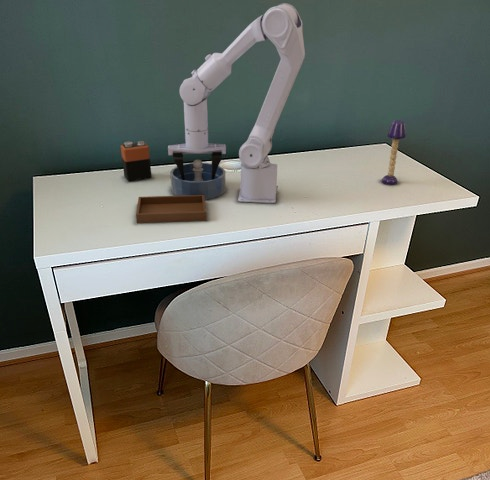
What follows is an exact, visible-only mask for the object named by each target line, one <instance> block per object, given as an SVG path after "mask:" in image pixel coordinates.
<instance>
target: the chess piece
mask: <svg viewBox="0 0 490 480" xmlns="http://www.w3.org/2000/svg"><path fill="white" fill-rule="evenodd" d="M192 163H193V166H194V168H193V171H194V173H195V178H194V181H196V182H200V181H203V179H202V171H203V168H201V167H202V165H203V163H204V162H203V161H202V160H201V159H195V160H193V162H192Z"/></svg>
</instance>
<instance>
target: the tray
mask: <svg viewBox="0 0 490 480" xmlns="http://www.w3.org/2000/svg"><path fill="white" fill-rule="evenodd" d="M207 217H208V216H207V205H206V199H205V196H204V195H183V196H176V195H155V196H154V195H153V196H138V199H137V205H136V212H135V219H136V223H137V224H151V223H153V224H154V223H173V222H174V223H177V222H179V223H180V222H181V223H182V222H201V221H202V222H205V221H207Z"/></svg>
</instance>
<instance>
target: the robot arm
mask: <svg viewBox="0 0 490 480" xmlns="http://www.w3.org/2000/svg"><path fill="white" fill-rule="evenodd" d="M303 33H304V32H303V20H302V19H301V16H300V14H299V12H298V10H297V9H296V7H295V6H294V5H292V4H290V3H280V4H278V5H275V6H272V7H270V8H268V9H267V10H266V11H265V13H264V14H262V15H260V16H258V17H257V18H256V19H254V20H253V21H251V23H249V25H247V26H246V28H245V29H244V30H243V31H242V32H241V33H240V34H239V35H238V36H237V37H236V38H235V39H234V40H233V41H232V42H231V43H230V44H229V45H228V47H227V48H226V49H224V51H222V52H213V53H212V54H211V53H209V54H208V55H206V56H205V57H204V60H205V61H204V62H203V63H202V64H201V65H200V66H199V67H198V68H197V70H196V69H193V70H192V71H191V73H190V74H191V77H189V78H185V79H184V80H183V81H182V83H181V84H180V86H179V96H180V98H181V100H182V102H183V119H184V139H185V143H180V144H171V145H168V146H167V151H168V152H167V153H168V156H172V159H173V162H174V164H175V165H176V167H178V169H179V172H180V174H181V178H182V180H185V174H184V167H183V164H184V155H200V154H207V155H208V154H210V155H211V157H210V158H211V164H212V170H211V179H212V180H213V179H215V174H216V171H217V168H218V166H220V163H221V162H222V159H223V155H227V145H226V144H225V143H223V144H222V143H210V142H209V125H208V124H209V121H208V119H209V117H208V115H209V114H208V98H209V96H210V94H211V92H213V91H214V90H215V89H216V88H217V87H218V86H219V85H221V83H223V82H224V81H225V80H226V79H227V78H228V77H229V76H230V75H231V74H232V65H233V64H234V63H235V62H236V61H238V59H240V58H241V57H242V56H243V55H244V54H245V53H246V52H247V51H248V50H249V49H251V48H252V47H253V46H254V45H255V44H256V43H258V42H265V41H267V40H269V41H270V42H271V43H272V44H273V45H274V46H275V48H276V51H277V53H278V55H279V58H280V60H279V62H278V65H277V67H276V71H275V73H274V76H273V78H272V81H271V83H270V85H269V88H268V91H267V93H266V95H265V99H264V100H263V103H262V105H261V108H260V111H259V113H258V116H257V119H256V121H255V124H254V126H253V128H252V129H251V131H250V132H249V133H250V134H249V136H248V138H247V140H246V141H245V142H244V143H243V144H242V145H241V146H240V148H239V150H238V157H239V160H240V188H239V193H238V199H237V201H238V203H239V202H240V203H259V204H260V203H265V204H275V203H276V202H277V193H278V187H279V185H277V182H278V164H277V163H272V162H271V160H270V158H269V156H268V155H269V153H270V152H271V150H272V148H273V141H272V139H273V136H274V133H275V129H276V127H277V124H278V122H279V119H280V116H281V115H282V112H283V110H284V107H285V105H286V103H287V100H288V98H289V95H290V94H291V92H292V89H293V86H294V84H295V81H296V79H297V76H298V74H299V72H300V70H301V68H302V65H303V63H304V60H305V56H306V50H305V41H304V34H303Z"/></svg>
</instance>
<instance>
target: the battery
mask: <svg viewBox="0 0 490 480" xmlns="http://www.w3.org/2000/svg"><path fill="white" fill-rule="evenodd" d="M120 152H121V161H122V168H123V177H124V178H125V179H126V180H127V182H135V181H141V180H147V179H148V180H149V179H152V168H151V155H150V147H149V145H148V144H147V143H146V142H144V140H139V141H137V142H134V143H133V142H132V141H125V142H124V143H123V144H121V145H120Z"/></svg>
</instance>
